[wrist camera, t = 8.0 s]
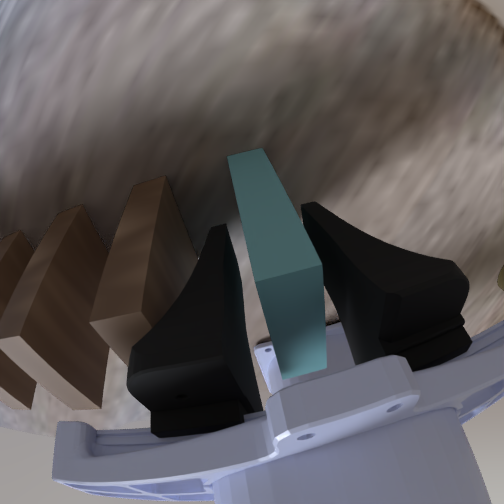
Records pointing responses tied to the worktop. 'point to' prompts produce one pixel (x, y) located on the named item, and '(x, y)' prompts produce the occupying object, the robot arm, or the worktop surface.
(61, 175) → the worktop surface
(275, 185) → the teal domino
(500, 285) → the olive upright piece
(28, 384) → the walnut domino
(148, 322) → the walnut domino
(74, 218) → the walnut domino
